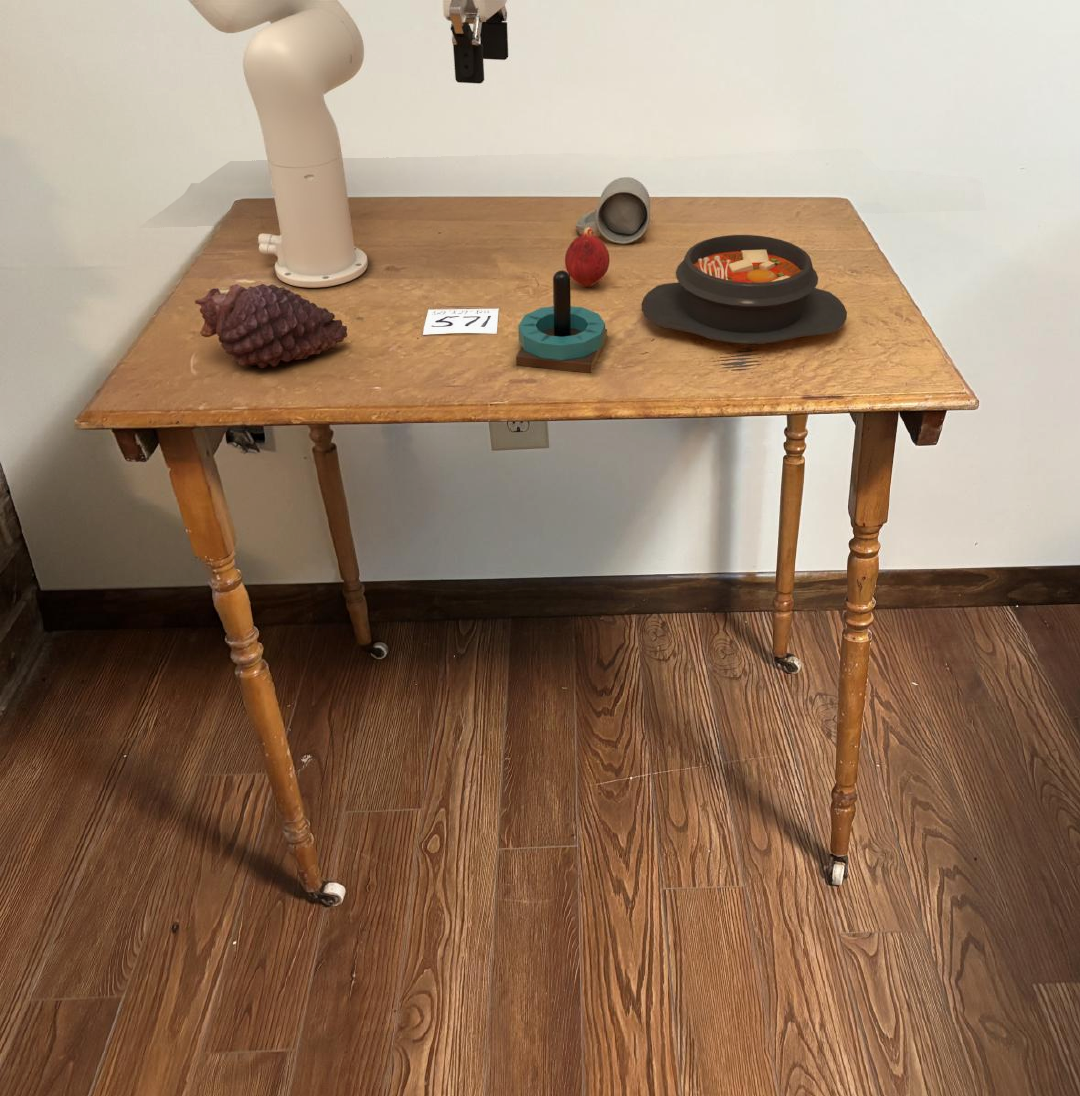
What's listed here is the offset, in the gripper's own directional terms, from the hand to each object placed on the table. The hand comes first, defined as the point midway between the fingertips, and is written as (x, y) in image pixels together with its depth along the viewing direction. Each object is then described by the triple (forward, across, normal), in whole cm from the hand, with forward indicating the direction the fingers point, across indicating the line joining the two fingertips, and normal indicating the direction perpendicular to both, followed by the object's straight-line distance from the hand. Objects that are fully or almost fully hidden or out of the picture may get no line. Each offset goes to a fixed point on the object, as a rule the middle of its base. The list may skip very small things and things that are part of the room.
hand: (482, 70), depth 126 cm
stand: (+28, +12, +12) cm, 33 cm away
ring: (+27, +11, +12) cm, 32 cm away
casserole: (+28, 0, +32) cm, 43 cm away
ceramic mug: (+28, -24, +11) cm, 39 cm away
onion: (+28, -6, +11) cm, 31 cm away
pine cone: (+28, +21, -21) cm, 41 cm away
